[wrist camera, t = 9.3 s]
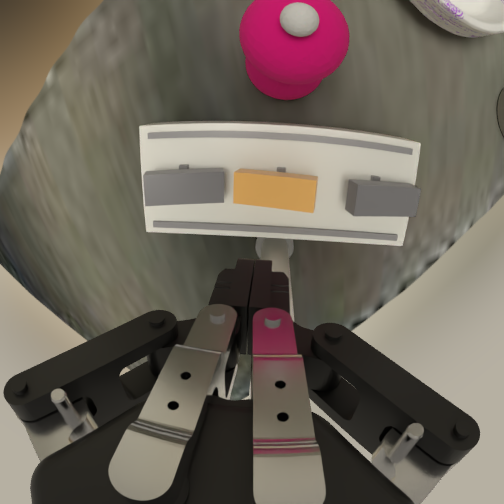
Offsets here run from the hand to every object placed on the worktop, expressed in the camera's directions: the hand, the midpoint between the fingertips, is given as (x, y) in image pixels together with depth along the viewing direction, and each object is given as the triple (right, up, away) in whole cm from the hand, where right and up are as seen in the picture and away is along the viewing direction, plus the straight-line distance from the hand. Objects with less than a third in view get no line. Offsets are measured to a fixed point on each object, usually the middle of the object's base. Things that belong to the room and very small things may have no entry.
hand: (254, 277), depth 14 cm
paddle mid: (+2, +7, +14) cm, 15 cm away
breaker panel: (+3, +10, +19) cm, 22 cm away
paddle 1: (-6, +7, +14) cm, 17 cm away
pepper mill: (+3, +20, +14) cm, 25 cm away
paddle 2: (+12, +6, +13) cm, 19 cm away
